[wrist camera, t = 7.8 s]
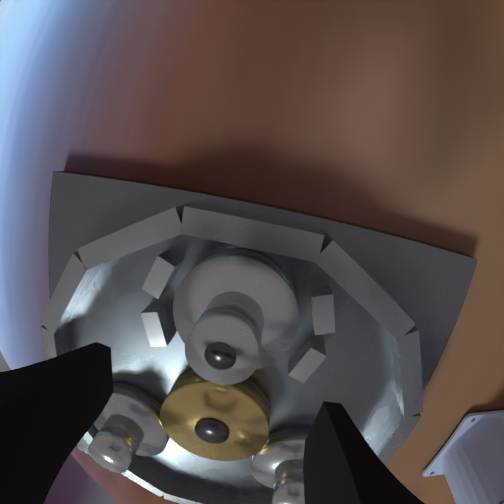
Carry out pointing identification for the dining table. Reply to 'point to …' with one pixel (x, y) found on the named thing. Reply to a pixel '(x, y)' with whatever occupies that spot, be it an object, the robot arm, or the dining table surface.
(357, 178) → the dining table surface
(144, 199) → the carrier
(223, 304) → the planet gear
